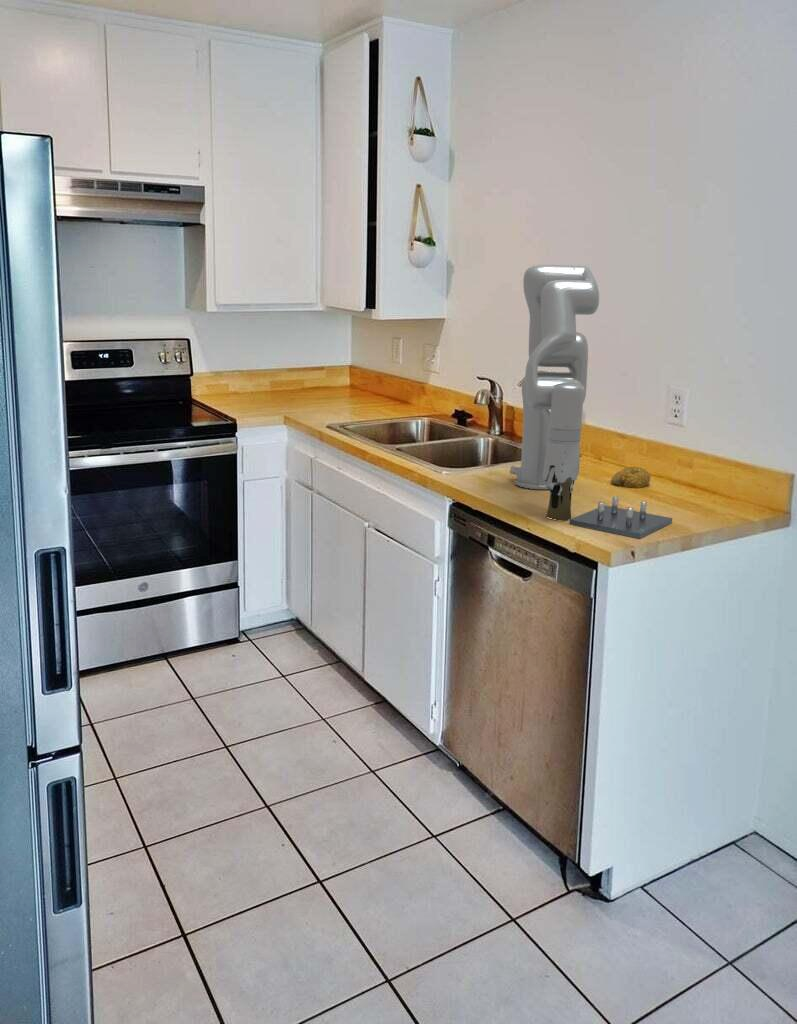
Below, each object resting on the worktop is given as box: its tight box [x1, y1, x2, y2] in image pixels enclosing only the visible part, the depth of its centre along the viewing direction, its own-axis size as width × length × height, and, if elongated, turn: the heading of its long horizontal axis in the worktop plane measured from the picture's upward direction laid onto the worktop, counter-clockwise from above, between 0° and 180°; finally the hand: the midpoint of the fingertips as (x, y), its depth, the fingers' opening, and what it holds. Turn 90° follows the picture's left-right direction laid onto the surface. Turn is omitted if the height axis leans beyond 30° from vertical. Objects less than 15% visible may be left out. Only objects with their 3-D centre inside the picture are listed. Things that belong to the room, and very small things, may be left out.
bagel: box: [610, 466, 651, 489], centre depth 259 cm, size 10×11×5 cm
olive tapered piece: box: [546, 477, 572, 521], centre depth 223 cm, size 6×6×11 cm
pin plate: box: [569, 496, 673, 540], centre depth 219 cm, size 18×18×5 cm
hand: (560, 508), depth 224 cm, fingers closed on olive tapered piece, 3 cm apart
